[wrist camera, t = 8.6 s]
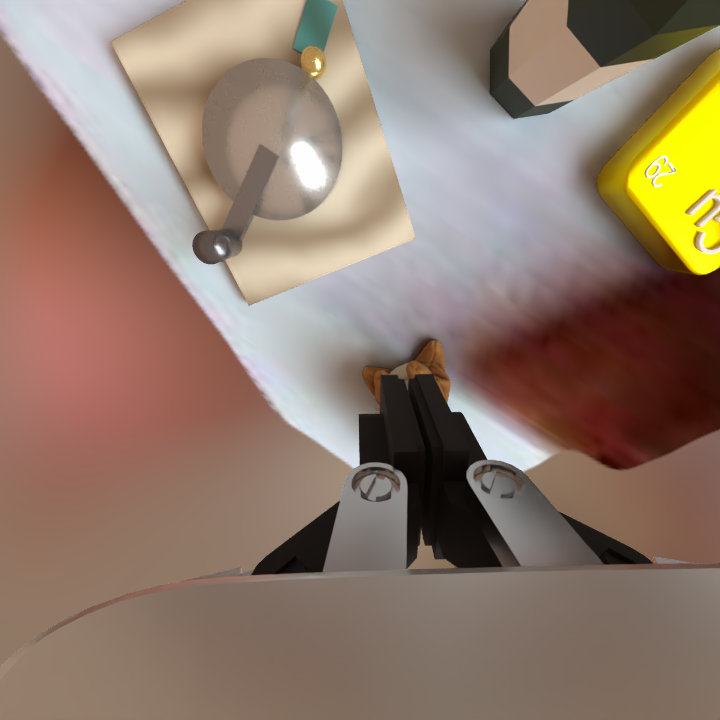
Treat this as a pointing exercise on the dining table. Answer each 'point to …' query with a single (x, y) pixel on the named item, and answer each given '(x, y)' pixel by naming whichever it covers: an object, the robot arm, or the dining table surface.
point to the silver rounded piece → (269, 146)
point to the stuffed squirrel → (413, 370)
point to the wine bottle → (585, 46)
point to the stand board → (341, 83)
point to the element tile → (674, 176)
